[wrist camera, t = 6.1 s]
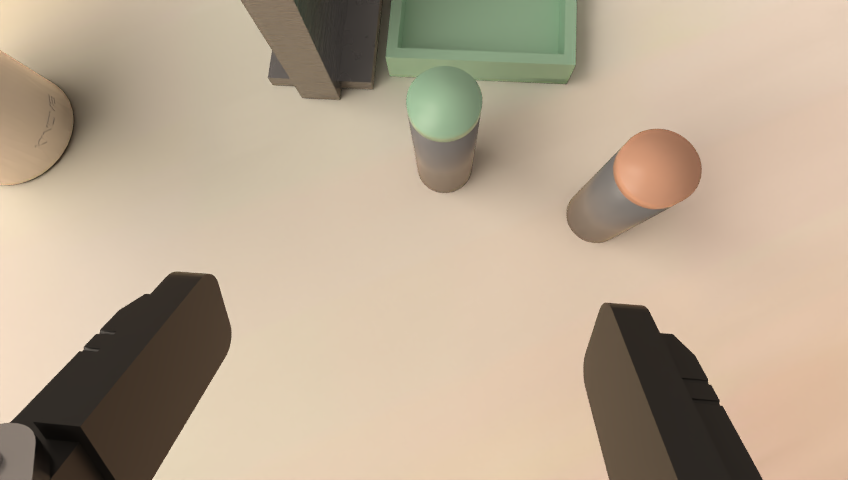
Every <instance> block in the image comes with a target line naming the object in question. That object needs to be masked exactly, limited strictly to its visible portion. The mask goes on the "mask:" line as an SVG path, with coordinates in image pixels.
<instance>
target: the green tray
mask: <svg viewBox="0 0 848 480" xmlns="http://www.w3.org/2000/svg"><path fill="white" fill-rule="evenodd" d="M576 14H577V0H391V9H390V18H389V28H388V38H387V47H386V62H387V66H388V71H389V75H390V76H398V77H418V76H419V75H420V74H421V73H423V72H424V71H426V70H428V69H431V68H434V67H438V66H452V67H456V68H459V69H461V70H463V71H465V72H467V73H468V74H470V75H471V76H472V77H473V78H474V79H475V80H488V81H510V82H533V83H555V84H567V82H568V80H569V78H570V76H571V74H572V72H573V70H574V68H575V66H576Z"/></svg>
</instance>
